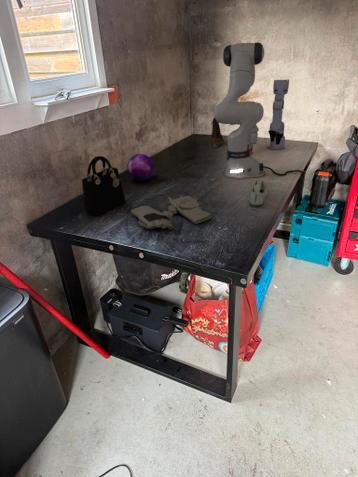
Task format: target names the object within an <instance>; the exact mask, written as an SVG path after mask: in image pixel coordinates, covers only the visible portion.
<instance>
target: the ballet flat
mask: <svg viewBox="0 0 358 477" xmlns="http://www.w3.org/2000/svg"><path fill="white" fill-rule="evenodd" d="M268 194H269V189H268V186H267V183H266V182H265V181H264V180H262V179H257V180H255V181H254V182H253V184H252V187H251V190H250V196H249V204H250V205H251V206H252V207H260V206H261V205H263V203H264V201H265V198H266V196H267V195H268Z"/></svg>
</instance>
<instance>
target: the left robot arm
mask: <svg viewBox="0 0 358 477" xmlns="http://www.w3.org/2000/svg"><path fill="white" fill-rule="evenodd" d="M264 57H265V48H264V45H263V44H262V42H259V41H257V42H239V43H235V44H228V45H226V46H225V47H224V49H223V52H222V62H223V64H224V65H225V66H226V67H229V80H228V89H227V91H226V92H227V93H226V94H225V97H224V98H223V99H222V100H221V101H220V102H219V103H218V104H217V105H216V106H215V108H214V111H213V115H214V116H213V117H215V119H216V121H217V122H218V123H219V124H223V125H230V126H236V125H237V126H238V128H236V129H234V130H233V131H232V130H231V132H229V134H228V135H227V149H226V152H225V153H226V154H225V159H226V165H225V169H224V172H223V174H224V176H225V177H228V178H232V179H233V178H234V179H237V180H243V179H250V178H258V177H259V178H260V177H263V176H264V175H265V172H264V169H267V170H270V171H271V172H272V173H273V174H275V175H277V176H279V177H281V176H282V177H283V176H286V175H287V174H289V173H301V174H302V175H306V173H305V172H304V171H303V170H300V169H292V170H286V171H285V172H284V173H279V172H277V171H275V170H274V169H272V167H268V166H265V165H264V163H263V162H259V161H258V160H257V159H256V158H255V157H254V156H253V154H254V152H253V150H252V151H251V150H249V149H251V146H252V145H256V144H257V143H258V139H259V138H258V137H259V133H258V132H259V130H260V129H259V127H258V125H257V124H258V123H260V122H261V121H262V119H263V117H264V115H265V111H264V106H263V105H262V103H261V102H257V101H254V100H253V101H252V100H251V101H249V100H248V101H239V99H240V98H241V97H243V96H245V95H246V94H248V93H249V92H250V90H251V88H252V86H254V84H255V81H256V66H257V65H260V64H261V63H262V62H263V60H264ZM248 144H249V146H248ZM247 147H248V148H249V149H247Z"/></svg>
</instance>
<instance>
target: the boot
mask: <svg viewBox="0 0 358 477" xmlns="http://www.w3.org/2000/svg"><path fill="white" fill-rule="evenodd" d="M211 125H212V126H211V127H212V129H211V130H212V131H211V134H210V135H211V143H212V146H213V148H214V149H215V148H218V147H219V146H221V145H222V144H224V143H225V139H224V137H223V135H222V133H221V128H220V123H218V122H217V121H216V119H215V116H213V118H212V121H211Z"/></svg>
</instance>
